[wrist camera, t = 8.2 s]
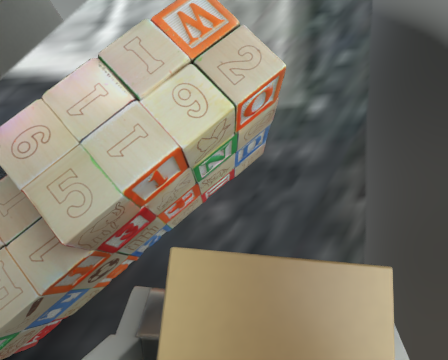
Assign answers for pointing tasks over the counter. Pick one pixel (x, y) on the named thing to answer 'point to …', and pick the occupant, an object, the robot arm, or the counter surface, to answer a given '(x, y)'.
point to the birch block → (274, 308)
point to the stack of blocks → (125, 157)
